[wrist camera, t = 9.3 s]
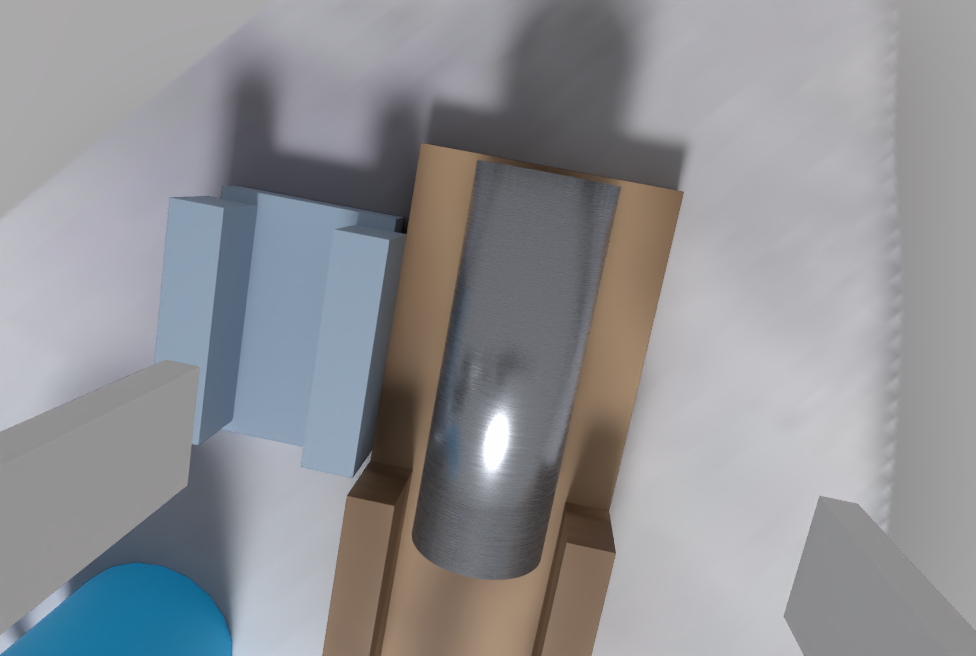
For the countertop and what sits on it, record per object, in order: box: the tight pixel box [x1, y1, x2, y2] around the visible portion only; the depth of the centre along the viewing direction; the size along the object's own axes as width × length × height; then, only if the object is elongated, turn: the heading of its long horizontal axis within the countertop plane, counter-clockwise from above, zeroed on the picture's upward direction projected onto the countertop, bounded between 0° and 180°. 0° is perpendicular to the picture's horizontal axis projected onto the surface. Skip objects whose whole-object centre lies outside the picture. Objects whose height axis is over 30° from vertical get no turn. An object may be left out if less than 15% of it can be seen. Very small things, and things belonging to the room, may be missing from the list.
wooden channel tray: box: [322, 143, 684, 656], centre depth 29 cm, size 10×24×5 cm, turn 170°
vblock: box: [154, 186, 407, 478], centre depth 29 cm, size 8×10×4 cm
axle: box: [412, 160, 621, 580], centre depth 27 cm, size 14×5×5 cm, turn 170°
